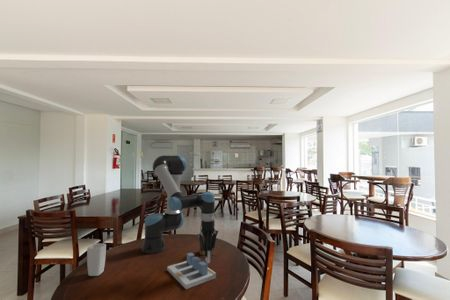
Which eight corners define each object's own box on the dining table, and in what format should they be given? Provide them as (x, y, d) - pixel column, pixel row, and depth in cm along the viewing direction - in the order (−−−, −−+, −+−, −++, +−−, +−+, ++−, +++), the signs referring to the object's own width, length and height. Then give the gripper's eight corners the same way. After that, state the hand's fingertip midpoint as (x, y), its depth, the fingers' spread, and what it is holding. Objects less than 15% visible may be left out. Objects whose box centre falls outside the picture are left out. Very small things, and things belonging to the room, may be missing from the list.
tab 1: (186, 262, 129) (186, 253, 129) (191, 261, 130) (191, 252, 131) (189, 265, 125) (189, 256, 126) (194, 263, 127) (194, 254, 127)
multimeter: (213, 258, 138) (213, 226, 139) (197, 257, 140) (197, 225, 141) (218, 249, 153) (218, 220, 154) (204, 248, 155) (204, 219, 156)
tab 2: (192, 267, 123) (192, 258, 123) (197, 265, 125) (197, 256, 125) (195, 270, 120) (195, 260, 120) (200, 268, 121) (200, 259, 122)
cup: (84, 277, 116) (85, 248, 117) (94, 270, 124) (94, 243, 124) (98, 278, 116) (99, 248, 117) (106, 271, 123) (107, 243, 124)
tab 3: (198, 272, 117) (198, 262, 117) (203, 270, 119) (203, 261, 119) (202, 275, 114) (202, 265, 114) (207, 273, 116) (207, 263, 116)
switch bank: (167, 270, 124) (167, 265, 124) (194, 261, 134) (194, 257, 134) (186, 289, 106) (186, 283, 106) (215, 278, 116) (215, 272, 116)
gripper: (201, 223, 121) (201, 267, 120) (221, 219, 129) (221, 261, 127) (194, 220, 127) (194, 262, 126) (213, 216, 135) (213, 256, 133)
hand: (207, 262), depth 127 cm, fingers closed
